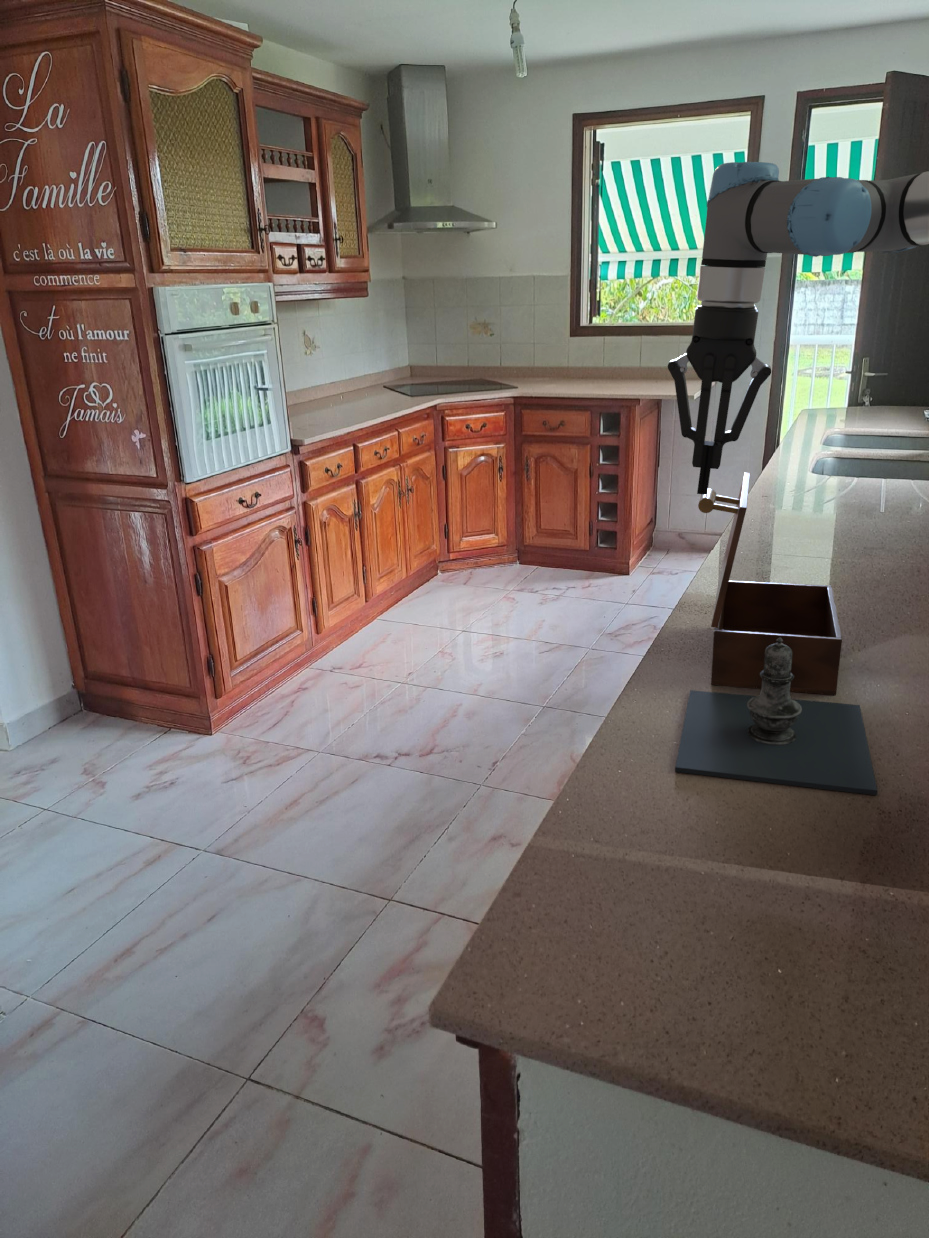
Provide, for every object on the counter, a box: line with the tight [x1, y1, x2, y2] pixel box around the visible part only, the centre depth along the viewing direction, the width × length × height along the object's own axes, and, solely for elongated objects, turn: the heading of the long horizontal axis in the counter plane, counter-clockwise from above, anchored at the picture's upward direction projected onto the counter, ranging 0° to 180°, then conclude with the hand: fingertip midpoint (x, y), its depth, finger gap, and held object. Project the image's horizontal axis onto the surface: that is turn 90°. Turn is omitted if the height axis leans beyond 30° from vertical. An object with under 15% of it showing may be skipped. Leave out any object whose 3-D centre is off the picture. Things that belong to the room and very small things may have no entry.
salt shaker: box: [747, 637, 802, 745], centre depth 99 cm, size 6×6×12 cm
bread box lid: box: [697, 471, 751, 629], centre depth 119 cm, size 16×21×6 cm
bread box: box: [710, 580, 843, 696], centre depth 121 cm, size 15×21×8 cm
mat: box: [674, 689, 878, 796], centre depth 101 cm, size 20×20×1 cm
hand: (702, 491), depth 117 cm, fingers closed
